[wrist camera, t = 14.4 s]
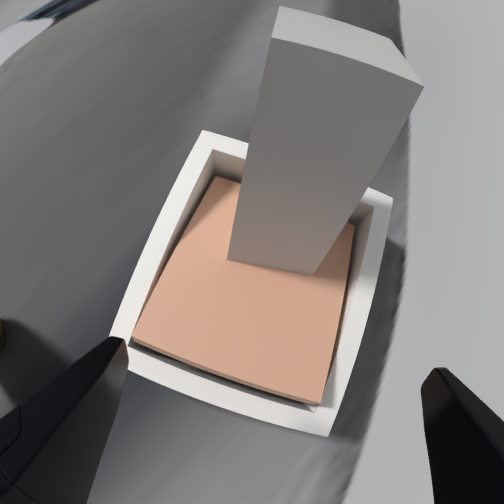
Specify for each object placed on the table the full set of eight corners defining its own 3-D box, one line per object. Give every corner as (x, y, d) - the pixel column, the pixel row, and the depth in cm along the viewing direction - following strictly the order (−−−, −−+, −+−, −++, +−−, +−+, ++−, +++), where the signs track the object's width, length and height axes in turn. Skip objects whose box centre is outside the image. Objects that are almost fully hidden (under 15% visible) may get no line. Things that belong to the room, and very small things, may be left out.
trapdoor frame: (307, 418, 20) (327, 437, 15) (128, 354, 20) (102, 356, 16) (365, 224, 24) (393, 198, 20) (207, 167, 25) (202, 130, 20)
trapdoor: (297, 409, 18) (320, 403, 15) (143, 355, 18) (131, 335, 15) (333, 255, 25) (354, 225, 21) (211, 212, 25) (216, 175, 22)
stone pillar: (312, 275, 19) (424, 86, 8) (226, 259, 18) (271, 37, 8) (313, 210, 21) (389, 38, 11) (239, 195, 21) (279, 6, 11)
